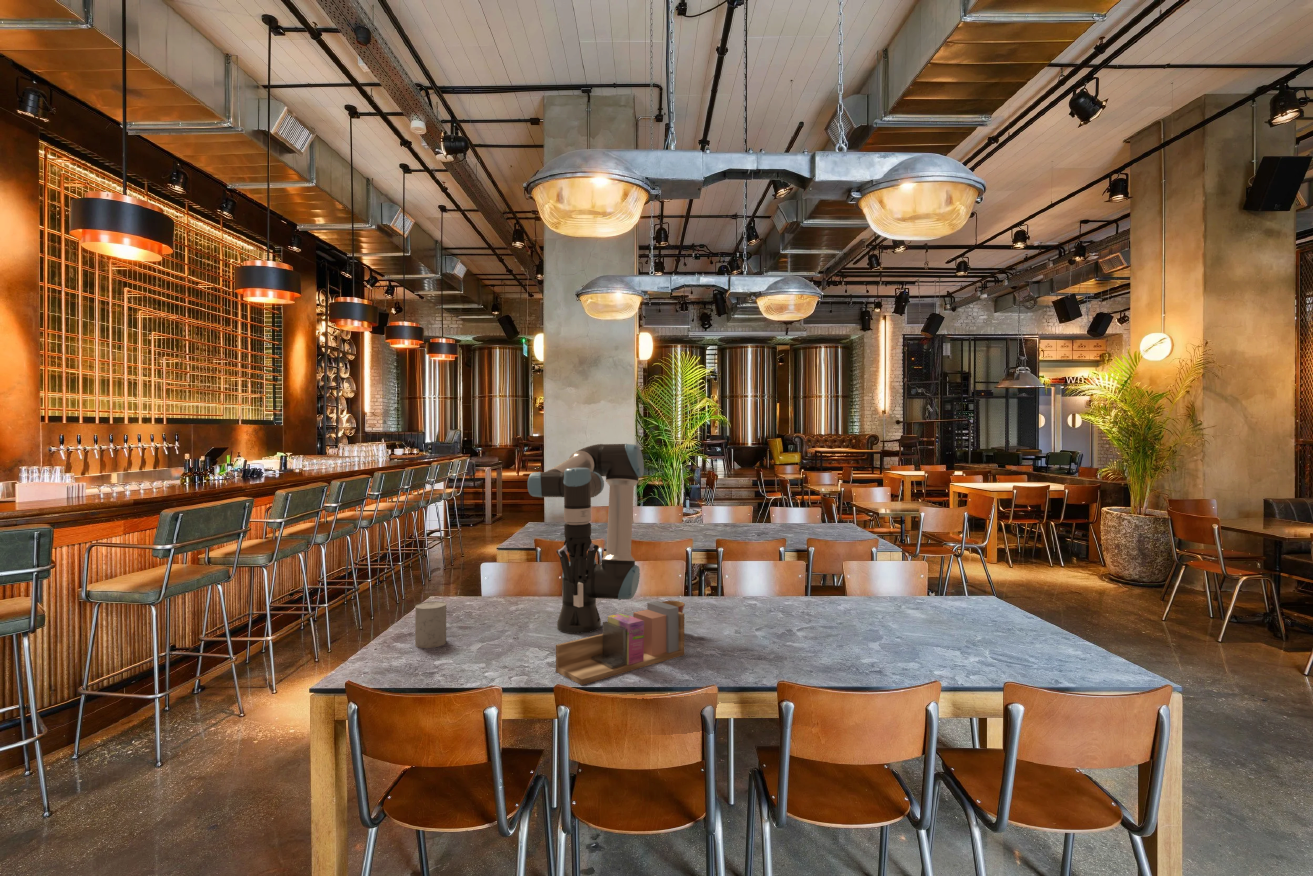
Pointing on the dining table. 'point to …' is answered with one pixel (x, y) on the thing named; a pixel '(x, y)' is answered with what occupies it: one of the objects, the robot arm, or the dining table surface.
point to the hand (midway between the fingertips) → (578, 605)
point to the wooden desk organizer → (578, 653)
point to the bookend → (613, 646)
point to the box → (631, 636)
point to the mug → (677, 604)
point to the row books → (659, 628)
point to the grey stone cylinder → (430, 624)
